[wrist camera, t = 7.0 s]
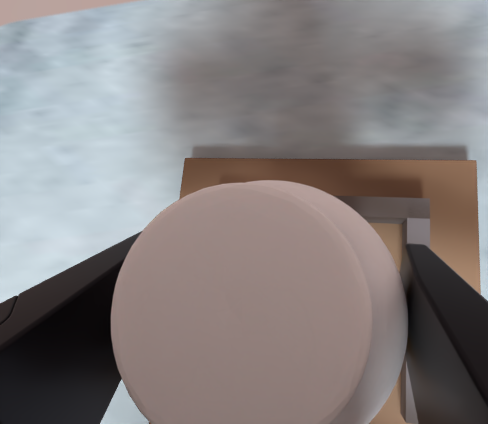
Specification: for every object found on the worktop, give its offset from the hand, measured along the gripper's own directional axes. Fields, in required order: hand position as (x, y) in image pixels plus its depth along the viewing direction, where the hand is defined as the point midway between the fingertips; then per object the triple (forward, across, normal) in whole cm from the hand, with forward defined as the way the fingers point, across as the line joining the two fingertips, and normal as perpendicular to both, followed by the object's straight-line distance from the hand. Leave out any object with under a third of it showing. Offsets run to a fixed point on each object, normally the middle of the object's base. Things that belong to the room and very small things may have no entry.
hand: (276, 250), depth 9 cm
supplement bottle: (+4, 0, +6) cm, 7 cm away
